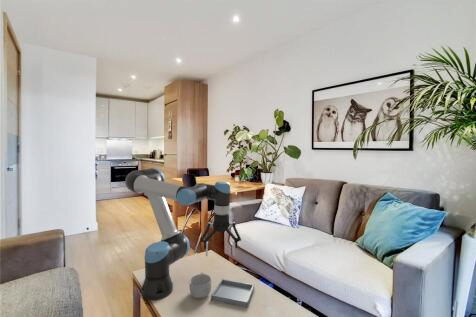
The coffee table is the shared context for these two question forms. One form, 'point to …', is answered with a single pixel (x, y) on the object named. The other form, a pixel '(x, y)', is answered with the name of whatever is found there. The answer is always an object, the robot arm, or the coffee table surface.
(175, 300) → the coffee table surface
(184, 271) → the coffee table surface
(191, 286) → the teacup
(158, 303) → the coffee table surface
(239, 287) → the tray
